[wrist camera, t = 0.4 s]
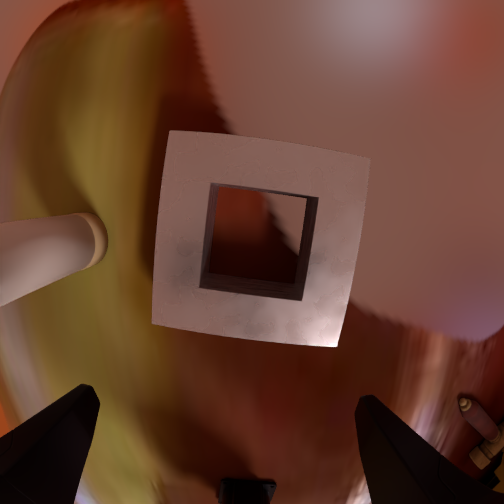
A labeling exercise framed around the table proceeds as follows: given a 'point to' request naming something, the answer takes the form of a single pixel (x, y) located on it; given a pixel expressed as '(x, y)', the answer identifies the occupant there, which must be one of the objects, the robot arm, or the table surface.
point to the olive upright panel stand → (498, 478)
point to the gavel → (483, 432)
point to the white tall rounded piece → (47, 251)
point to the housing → (246, 289)
